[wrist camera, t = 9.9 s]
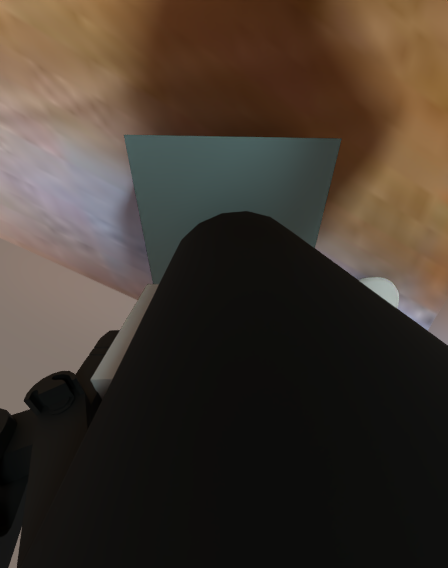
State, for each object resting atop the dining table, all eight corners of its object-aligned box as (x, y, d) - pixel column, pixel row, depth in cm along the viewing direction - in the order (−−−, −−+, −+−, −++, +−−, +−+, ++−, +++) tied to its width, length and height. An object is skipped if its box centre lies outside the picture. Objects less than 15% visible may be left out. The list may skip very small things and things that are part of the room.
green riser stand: (151, 146, 23) (123, 134, 16) (303, 148, 23) (341, 138, 16) (172, 292, 32) (161, 325, 26) (279, 290, 33) (296, 321, 26)
